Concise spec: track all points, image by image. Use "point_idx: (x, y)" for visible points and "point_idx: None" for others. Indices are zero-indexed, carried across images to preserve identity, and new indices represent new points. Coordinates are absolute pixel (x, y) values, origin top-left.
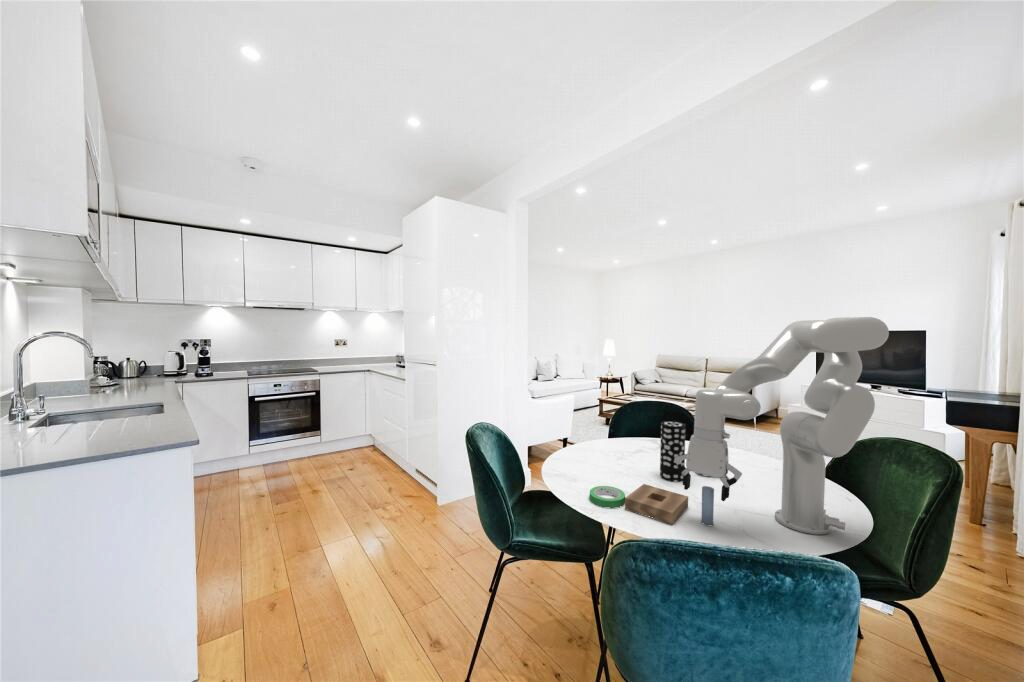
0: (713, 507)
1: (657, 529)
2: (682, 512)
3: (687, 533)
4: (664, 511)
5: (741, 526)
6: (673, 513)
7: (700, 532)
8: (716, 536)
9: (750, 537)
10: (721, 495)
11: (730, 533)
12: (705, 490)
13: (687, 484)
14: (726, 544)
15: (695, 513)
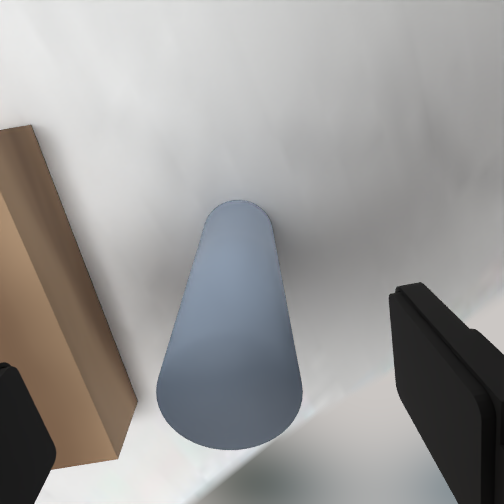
0: (280, 274)
1: (125, 474)
2: (74, 250)
3: None
4: (73, 460)
5: (409, 86)
6: (114, 433)
7: None
8: (339, 330)
9: (484, 192)
10: (419, 429)
11: (383, 241)
12: (233, 444)
13: (24, 494)
14: None
15: (118, 166)
